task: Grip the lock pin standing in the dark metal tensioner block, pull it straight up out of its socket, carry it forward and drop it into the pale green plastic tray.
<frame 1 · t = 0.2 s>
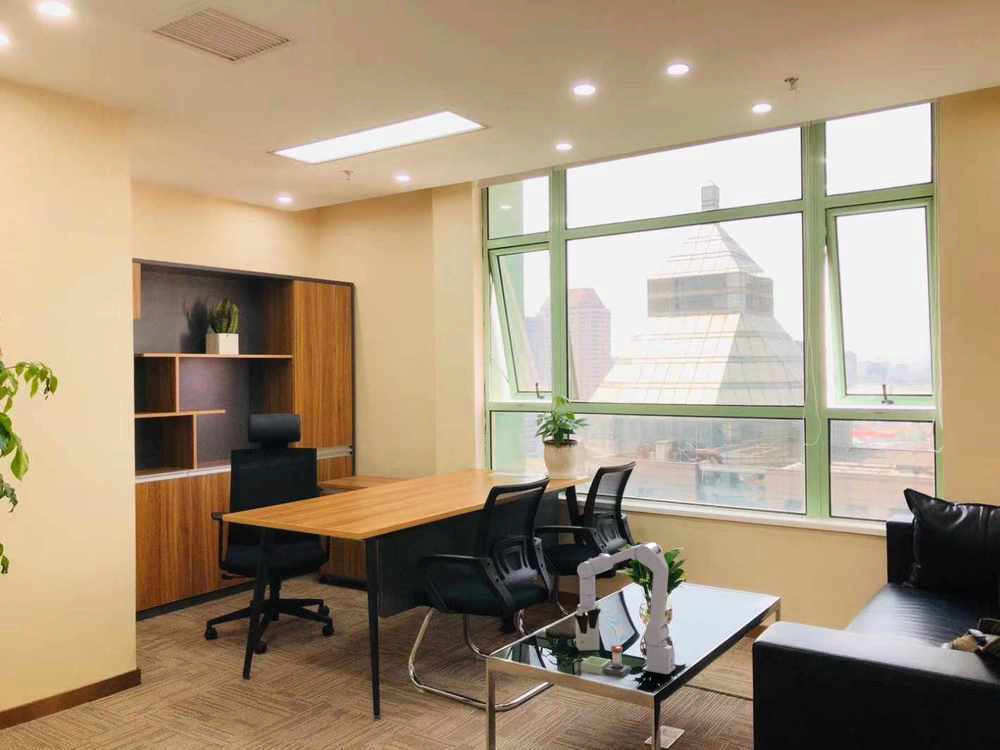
hand: (588, 630, 304), 10 cm above the table, tool pointing down, fingers open, 7 cm apart
small box: (587, 648, 316), on the table
tensioner block: (617, 673, 287), on the table
tray: (596, 669, 291), on the table
lock pin: (617, 660, 287), in the tensioner block
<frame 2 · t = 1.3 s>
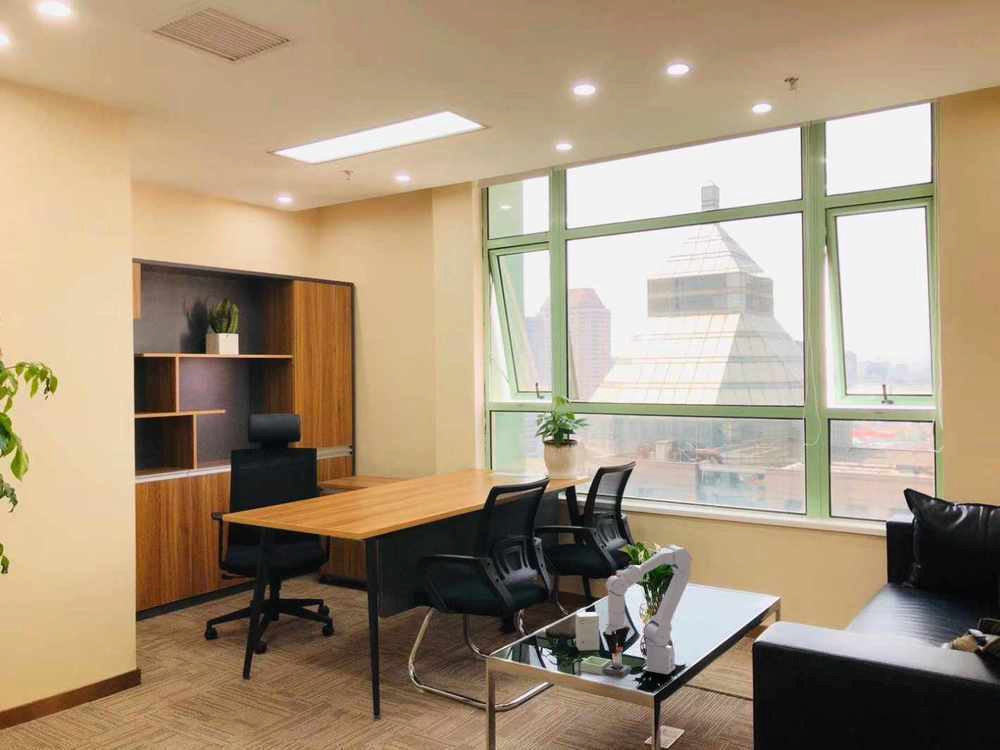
hand: (616, 650, 287), 8 cm above the table, tool pointing down, fingers open, 7 cm apart
nothing on the table moved.
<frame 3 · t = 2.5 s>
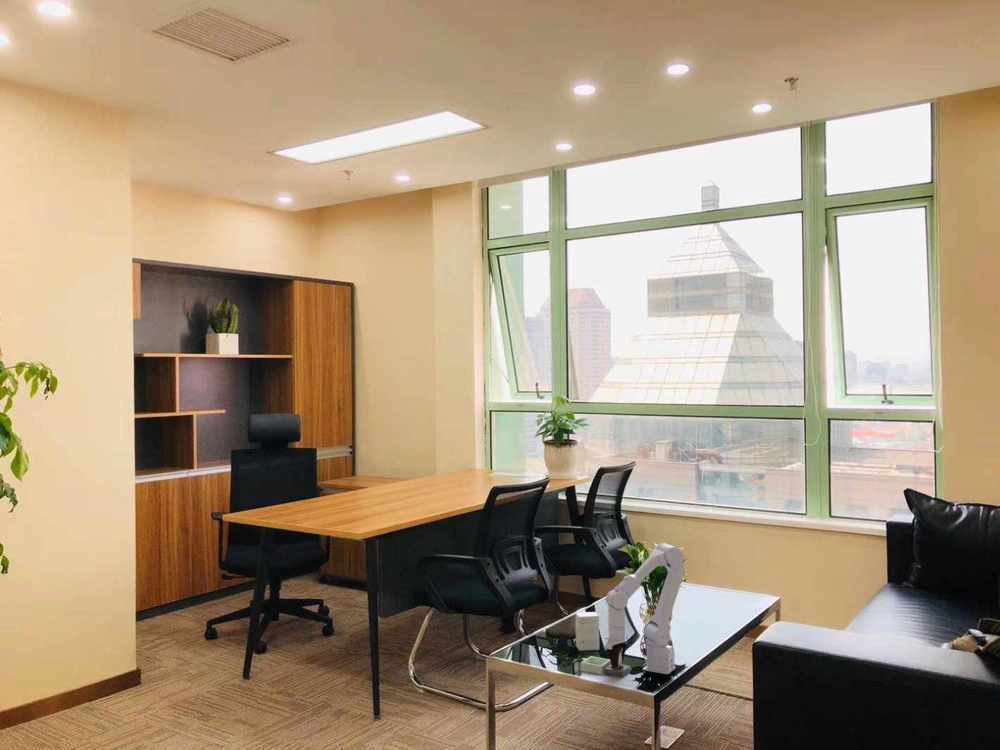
hand: (617, 664, 287), 3 cm above the table, tool pointing down, fingers closed on lock pin, 4 cm apart
lock pin: (617, 660, 287), in the tensioner block, touching gripper
everything else where it was.
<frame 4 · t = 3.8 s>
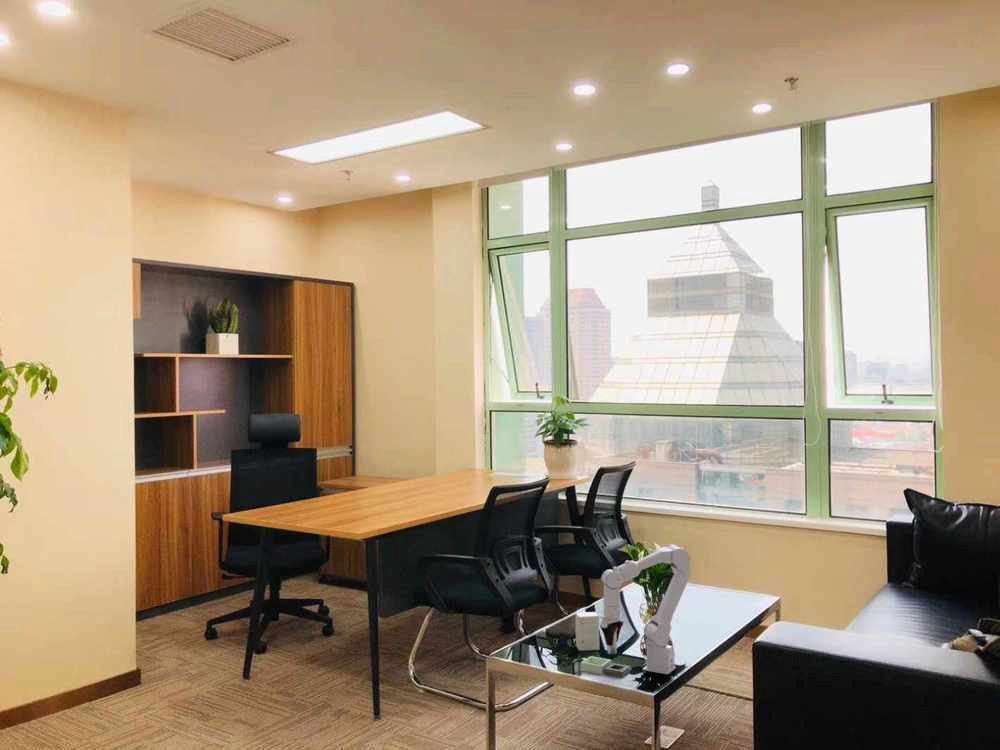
hand: (612, 643, 288), 10 cm above the table, tool pointing down, fingers closed on lock pin, 4 cm apart
lock pin: (612, 639, 288), point 11 cm above the table, touching gripper
everything else where it was.
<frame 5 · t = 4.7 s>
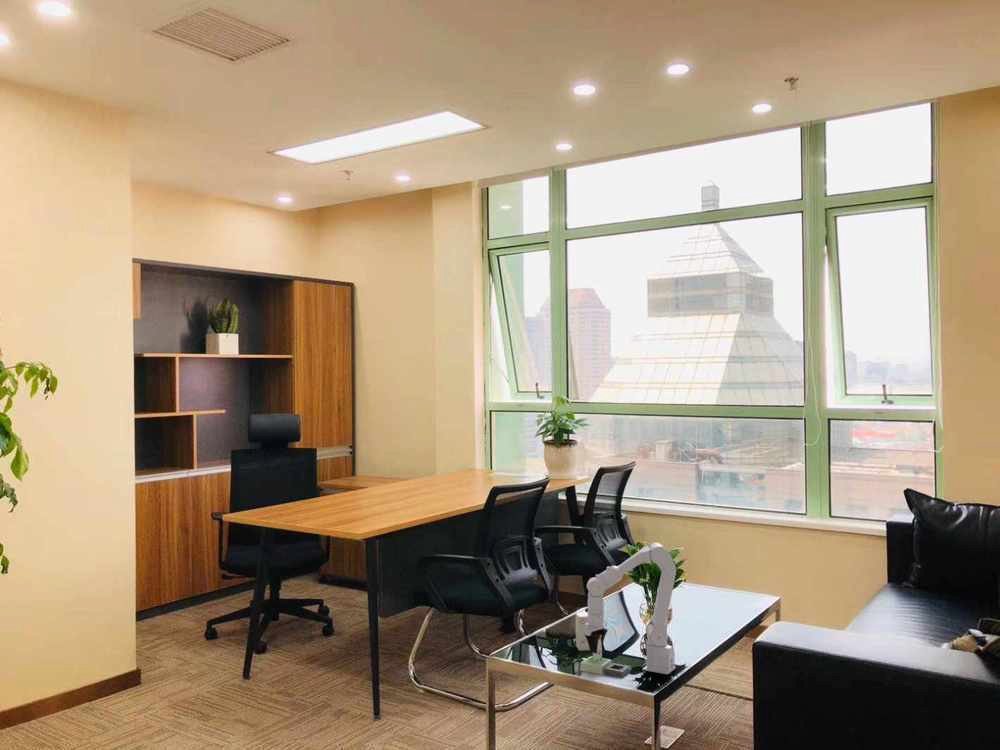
hand: (596, 651, 291), 6 cm above the table, tool pointing down, fingers closed on lock pin, 4 cm apart
lock pin: (596, 647, 291), point 8 cm above the table, touching gripper
everything else where it was.
when the fingers open (5 cm above the table, at t = 5.2 s): lock pin drops 2 cm, resting on tray.
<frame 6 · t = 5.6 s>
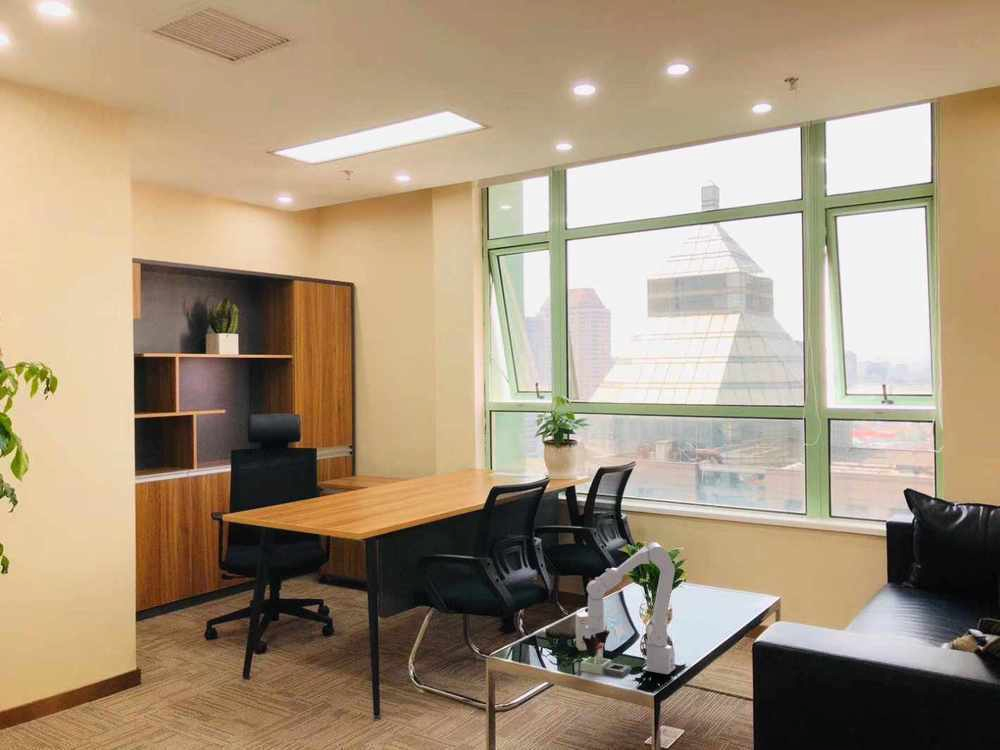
hand: (596, 653, 291), 5 cm above the table, tool pointing down, fingers open, 7 cm apart
lock pin: (598, 655, 291), in the tray
everything else where it was.
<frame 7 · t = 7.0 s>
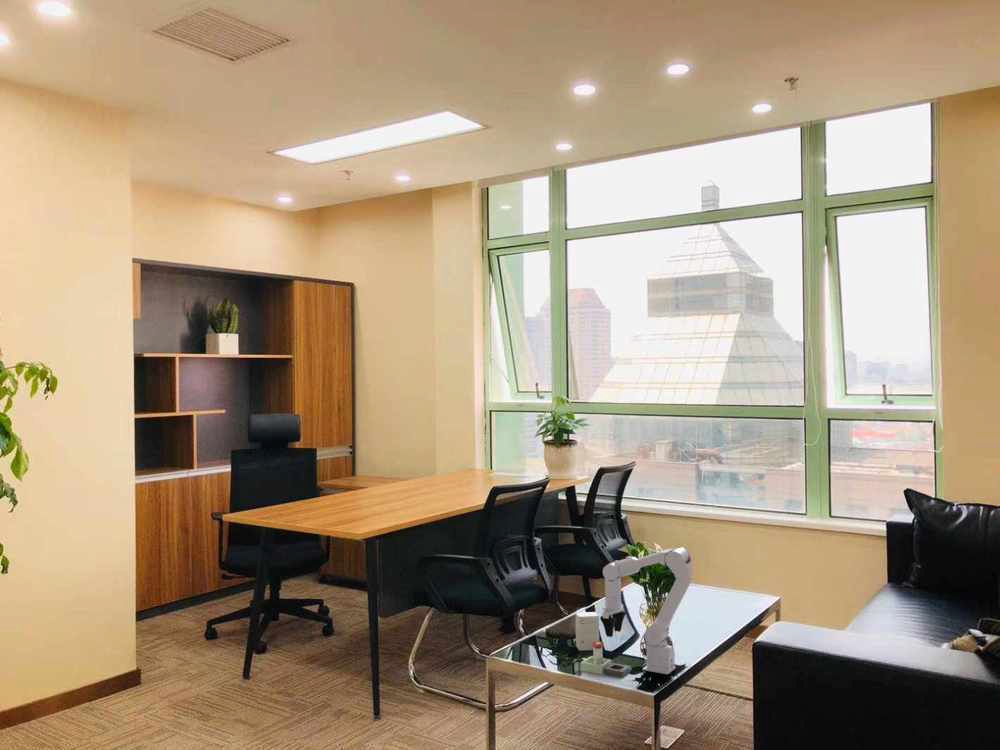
hand: (613, 633, 299), 10 cm above the table, tool pointing down, fingers open, 7 cm apart
nothing on the table moved.
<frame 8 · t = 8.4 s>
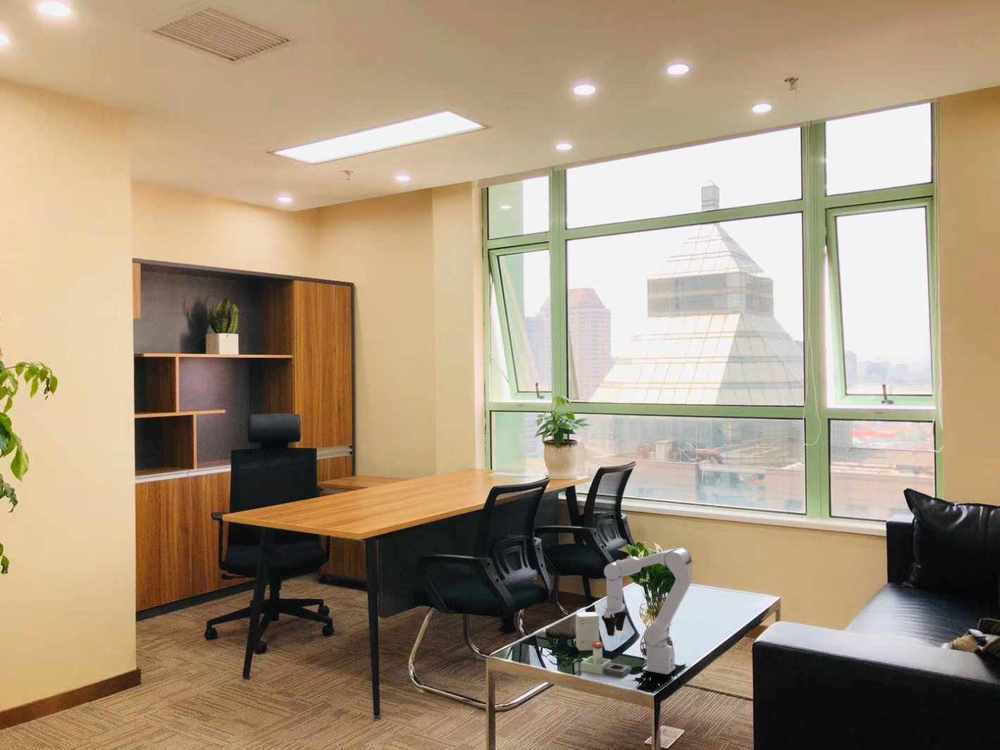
hand: (615, 633, 299), 10 cm above the table, tool pointing down, fingers open, 7 cm apart
nothing on the table moved.
at the end: lock pin inside the target area on the tray (0.7 cm from its centre), point 4.9 cm above the tray's base; the gripper is holding nothing; lock pin moved 7.3 cm from its start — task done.
